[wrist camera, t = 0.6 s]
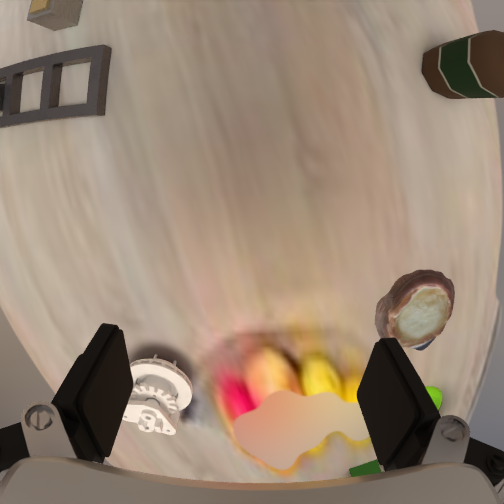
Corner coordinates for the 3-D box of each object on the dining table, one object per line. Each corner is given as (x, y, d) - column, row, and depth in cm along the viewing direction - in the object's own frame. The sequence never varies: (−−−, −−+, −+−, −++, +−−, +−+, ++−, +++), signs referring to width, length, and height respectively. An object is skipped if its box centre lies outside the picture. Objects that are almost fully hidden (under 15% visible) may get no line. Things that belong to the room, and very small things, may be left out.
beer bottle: (455, 47, 30) (584, 25, 7) (467, 98, 32) (603, 107, 10) (413, 45, 30) (546, 3, 8) (426, 100, 33) (572, 100, 11)
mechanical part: (203, 355, 47) (194, 412, 36) (185, 400, 51) (176, 453, 40) (134, 331, 45) (109, 384, 34) (125, 380, 49) (106, 430, 38)
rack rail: (-18, 131, 32) (-27, 133, 30) (-14, 77, 29) (-23, 77, 27) (104, 115, 33) (96, 114, 31) (111, 48, 30) (103, 44, 28)
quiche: (410, 371, 51) (418, 385, 47) (331, 334, 47) (337, 350, 43) (481, 283, 44) (494, 293, 40) (414, 223, 40) (428, 232, 36)
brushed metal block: (59, 6, 27) (31, -8, 19) (83, 1, 27) (56, -17, 20) (54, 30, 28) (24, 19, 21) (77, 25, 28) (48, 10, 21)
